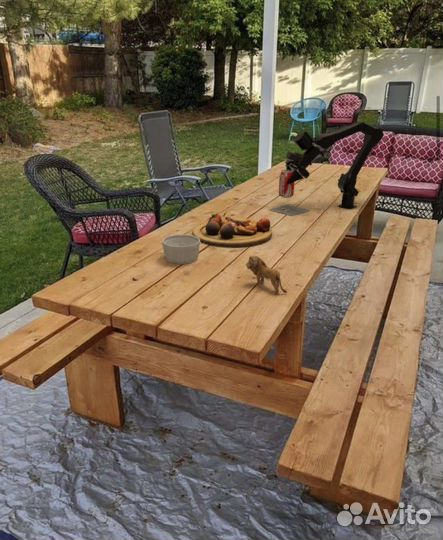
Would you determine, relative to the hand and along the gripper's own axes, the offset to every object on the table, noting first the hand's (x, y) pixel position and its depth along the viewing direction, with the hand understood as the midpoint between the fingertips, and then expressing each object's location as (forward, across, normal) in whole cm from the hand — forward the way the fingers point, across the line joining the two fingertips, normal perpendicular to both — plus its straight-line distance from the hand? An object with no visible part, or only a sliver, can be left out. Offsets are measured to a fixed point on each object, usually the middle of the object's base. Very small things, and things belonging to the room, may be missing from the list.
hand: (284, 182), depth 227 cm
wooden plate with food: (+32, +31, -13) cm, 47 cm away
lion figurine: (+33, +83, -15) cm, 91 cm away
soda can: (+4, 0, +6) cm, 7 cm away
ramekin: (+49, +54, -30) cm, 79 cm away
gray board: (+7, +1, +12) cm, 14 cm away
